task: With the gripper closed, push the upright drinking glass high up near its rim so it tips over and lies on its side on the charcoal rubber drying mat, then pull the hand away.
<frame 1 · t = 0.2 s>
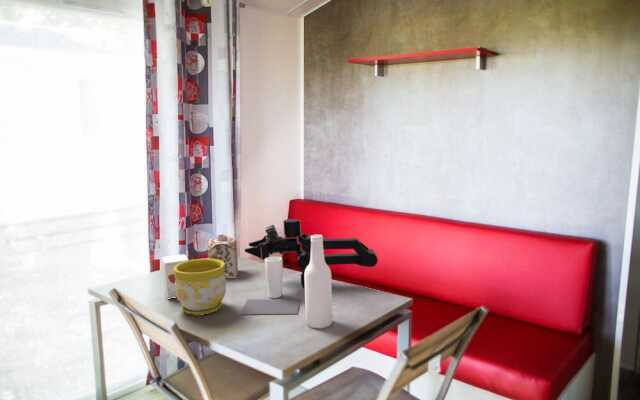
hand: (246, 247, 199), 16 cm above the table, tool horizontal, fingers open, 9 cm apart
flowerpot: (202, 309, 179), on the table
drinking glass: (275, 296, 190), on the table
supplement box: (177, 295, 194), on the table
decorative jar: (224, 275, 217), on the table
drying mat: (271, 307, 179), on the table
alcohol: (319, 324, 163), on the table
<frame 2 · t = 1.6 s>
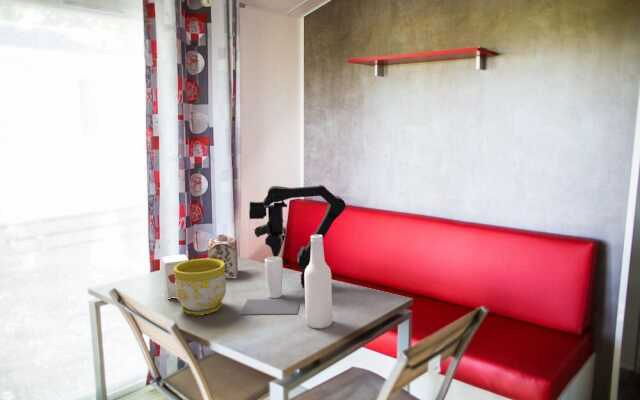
hand: (276, 256, 197), 13 cm above the table, tool pointing down, fingers open, 8 cm apart
nothing on the table moved.
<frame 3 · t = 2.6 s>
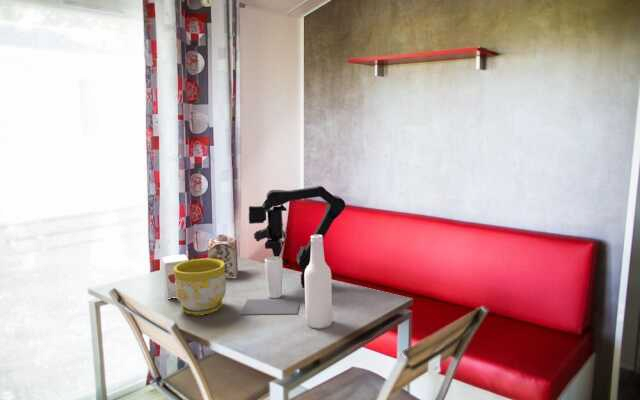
hand: (276, 260, 197), 12 cm above the table, tool pointing down, fingers closed
nothing on the table moved.
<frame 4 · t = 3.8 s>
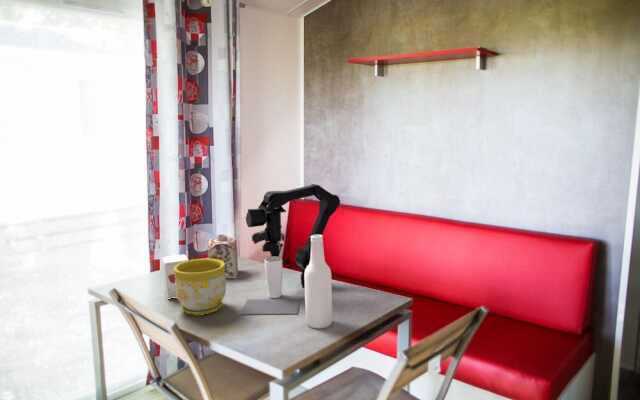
hand: (274, 263, 192), 12 cm above the table, tool pointing down, fingers closed
drinking glass: (275, 296, 190), on the table, touching gripper
everything else where it was.
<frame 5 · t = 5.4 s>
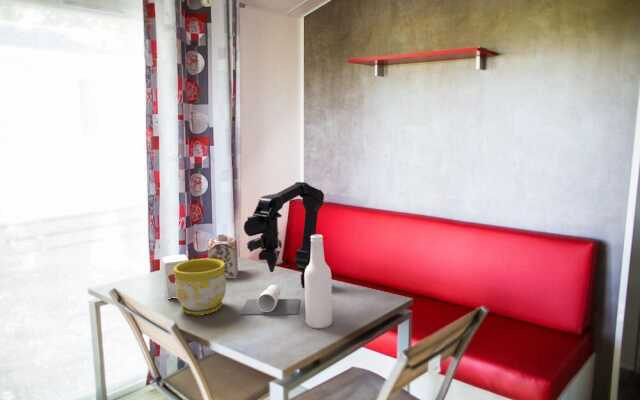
hand: (271, 271, 182), 12 cm above the table, tool pointing down, fingers closed
drinking glass: (273, 290, 187), point 3 cm above the table, touching drying mat
everything else where it was.
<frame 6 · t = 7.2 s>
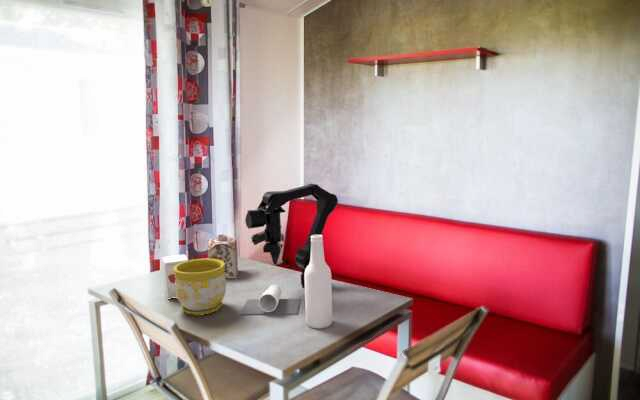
hand: (275, 264, 191), 12 cm above the table, tool pointing down, fingers closed
nothing on the table moved.
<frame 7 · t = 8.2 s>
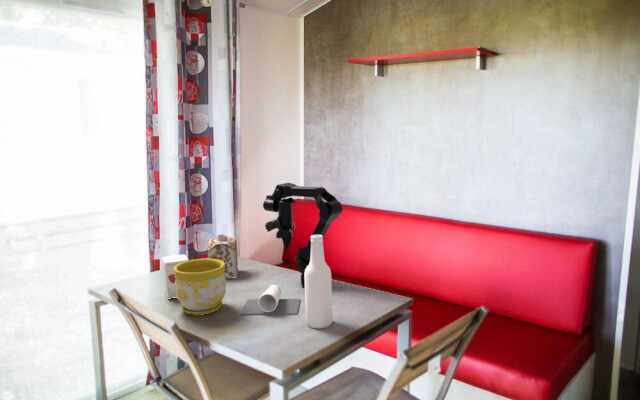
hand: (286, 249, 207), 13 cm above the table, tool pointing down, fingers closed
nothing on the table moved.
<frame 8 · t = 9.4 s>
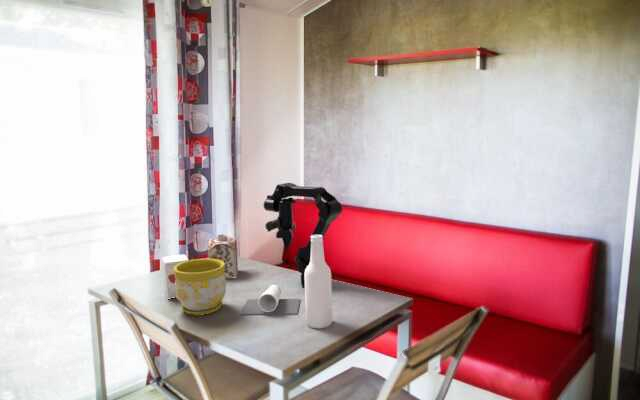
hand: (286, 249, 207), 13 cm above the table, tool pointing down, fingers closed
nothing on the table moved.
at the end: drinking glass tilted 86°; drinking glass touching drying mat; drinking glass inside the target area (2.7 cm from its centre), point 2.9 cm above the table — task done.
